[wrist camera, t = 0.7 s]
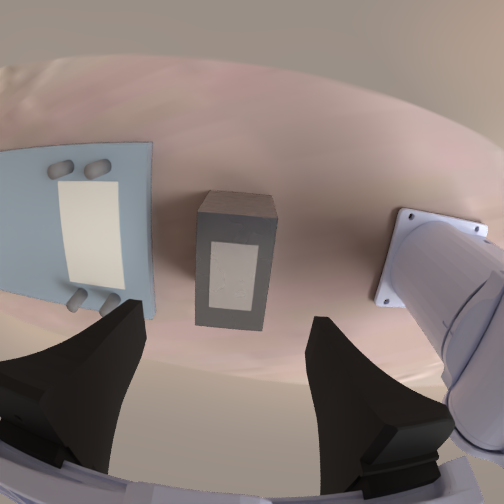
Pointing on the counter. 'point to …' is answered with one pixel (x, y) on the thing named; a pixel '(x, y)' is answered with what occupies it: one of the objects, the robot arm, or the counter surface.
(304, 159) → the counter surface
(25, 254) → the pin tray
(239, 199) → the block
